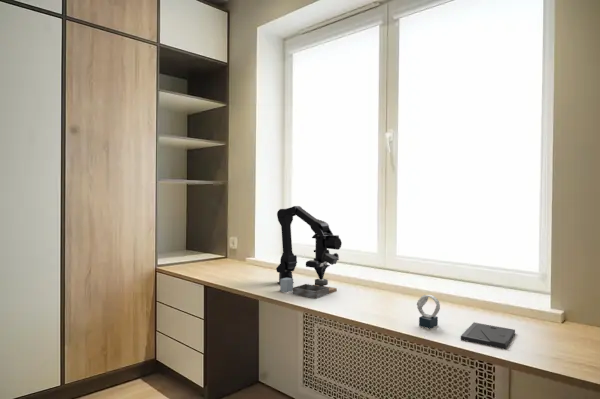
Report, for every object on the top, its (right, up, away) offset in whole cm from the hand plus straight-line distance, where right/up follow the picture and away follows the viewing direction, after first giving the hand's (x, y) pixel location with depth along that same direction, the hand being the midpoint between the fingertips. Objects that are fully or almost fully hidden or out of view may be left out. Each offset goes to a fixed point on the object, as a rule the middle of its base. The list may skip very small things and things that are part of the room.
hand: (321, 279), depth 198 cm
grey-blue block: (-17, -5, -1) cm, 18 cm away
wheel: (0, -2, 0) cm, 2 cm away
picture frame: (+53, -7, -63) cm, 83 cm away
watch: (+36, -6, -52) cm, 64 cm away
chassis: (-3, -6, -4) cm, 7 cm away
